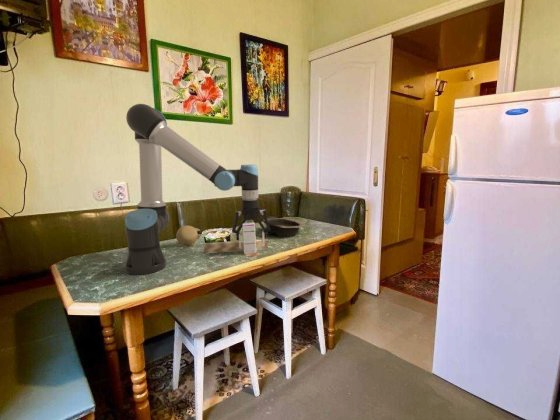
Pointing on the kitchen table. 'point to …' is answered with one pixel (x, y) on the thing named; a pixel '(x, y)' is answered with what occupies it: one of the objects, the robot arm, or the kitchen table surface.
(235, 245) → the maple fence
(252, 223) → the syrup box
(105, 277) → the kitchen table surface
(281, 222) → the stone bowl
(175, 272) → the kitchen table surface
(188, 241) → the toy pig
